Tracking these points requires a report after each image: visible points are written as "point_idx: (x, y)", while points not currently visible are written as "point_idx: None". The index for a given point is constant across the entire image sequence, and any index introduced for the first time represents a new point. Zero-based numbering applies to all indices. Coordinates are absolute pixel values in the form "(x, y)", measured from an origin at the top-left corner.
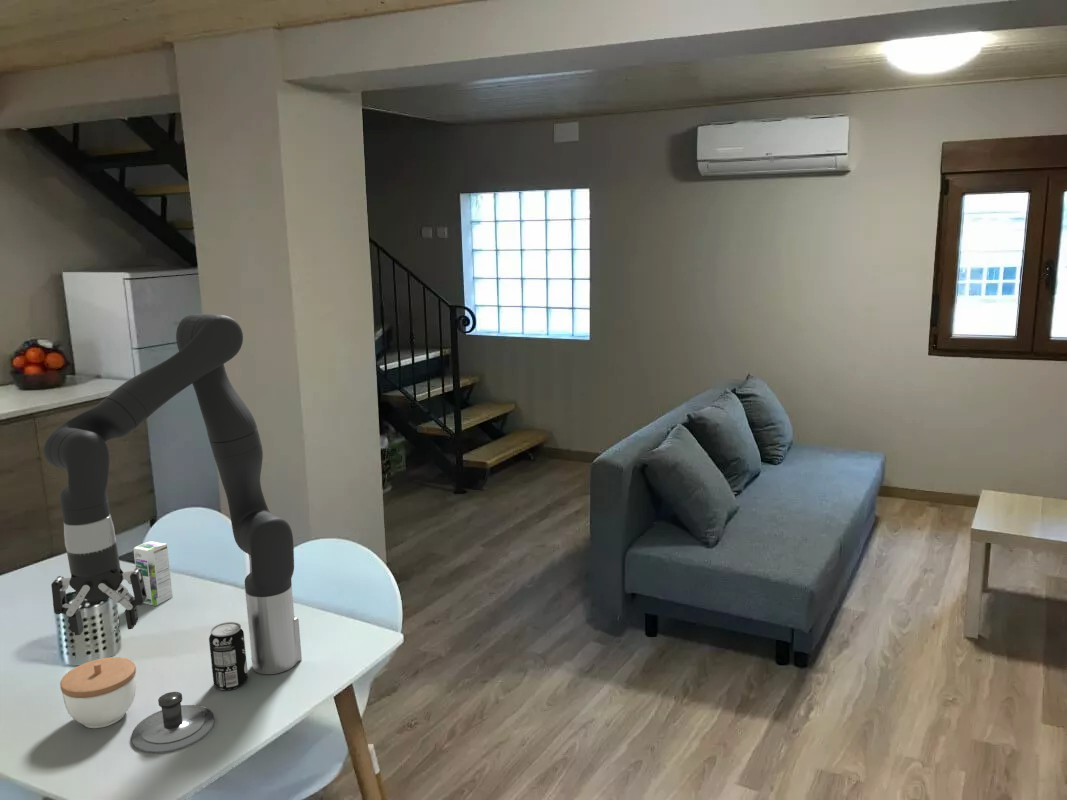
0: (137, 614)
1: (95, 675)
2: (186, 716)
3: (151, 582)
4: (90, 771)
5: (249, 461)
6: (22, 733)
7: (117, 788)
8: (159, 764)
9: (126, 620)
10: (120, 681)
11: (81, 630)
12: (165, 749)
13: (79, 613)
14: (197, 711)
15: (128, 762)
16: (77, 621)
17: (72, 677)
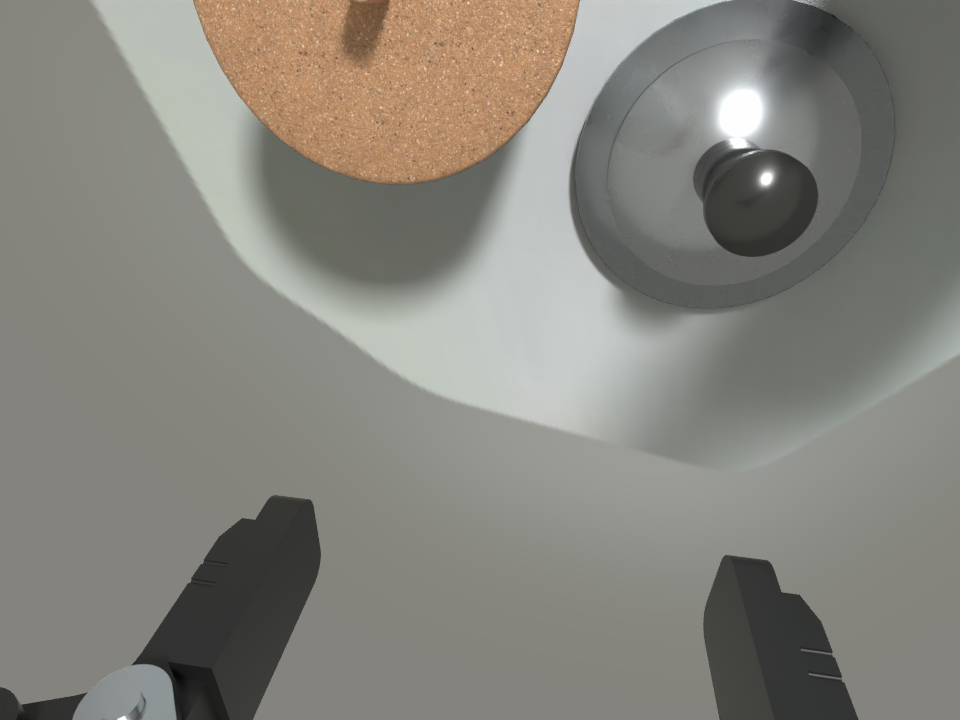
0: (837, 674)
1: (371, 16)
2: (784, 132)
3: None
4: (483, 333)
5: None
6: (158, 38)
7: (575, 423)
8: (679, 356)
9: (720, 717)
10: (527, 116)
11: (309, 540)
12: (699, 307)
13: (229, 676)
14: (834, 100)
15: (585, 322)
16: (266, 674)
17: (247, 4)
